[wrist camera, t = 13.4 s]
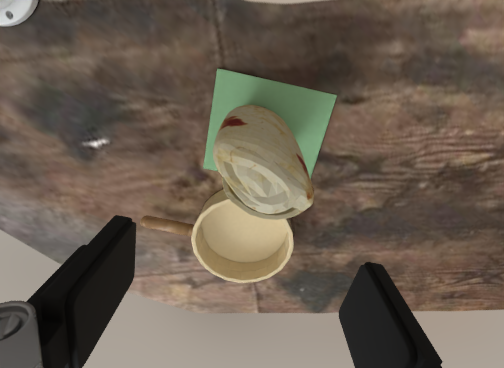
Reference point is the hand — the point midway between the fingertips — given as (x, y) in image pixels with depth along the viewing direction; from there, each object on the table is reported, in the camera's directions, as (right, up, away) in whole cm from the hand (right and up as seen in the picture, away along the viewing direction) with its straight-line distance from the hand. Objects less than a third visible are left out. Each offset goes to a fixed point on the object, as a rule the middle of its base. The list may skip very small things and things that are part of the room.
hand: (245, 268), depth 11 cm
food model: (+2, +11, +26) cm, 29 cm away
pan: (-1, -4, +33) cm, 33 cm away
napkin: (+2, +11, +27) cm, 29 cm away
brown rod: (-12, -2, +30) cm, 33 cm away
